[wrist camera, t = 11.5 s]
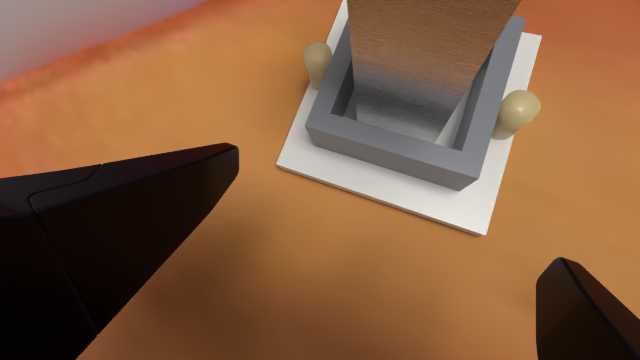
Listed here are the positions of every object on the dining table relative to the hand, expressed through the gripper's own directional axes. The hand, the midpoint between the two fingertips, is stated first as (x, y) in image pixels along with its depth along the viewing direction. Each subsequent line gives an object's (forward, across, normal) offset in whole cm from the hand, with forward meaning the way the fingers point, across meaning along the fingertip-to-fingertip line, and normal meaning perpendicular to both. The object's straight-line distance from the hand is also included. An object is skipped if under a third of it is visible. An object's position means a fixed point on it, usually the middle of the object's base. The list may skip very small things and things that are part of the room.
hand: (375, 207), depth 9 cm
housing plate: (+12, +1, +1) cm, 12 cm away
